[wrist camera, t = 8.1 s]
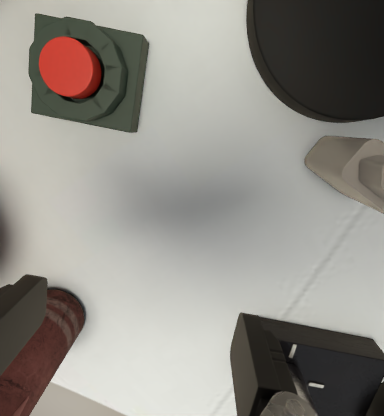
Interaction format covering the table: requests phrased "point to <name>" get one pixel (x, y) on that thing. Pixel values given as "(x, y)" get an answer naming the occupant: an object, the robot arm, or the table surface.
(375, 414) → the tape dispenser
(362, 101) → the lamp
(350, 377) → the panel
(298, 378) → the knob
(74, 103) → the box
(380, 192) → the power adapter
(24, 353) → the can
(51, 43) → the button
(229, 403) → the table surface
